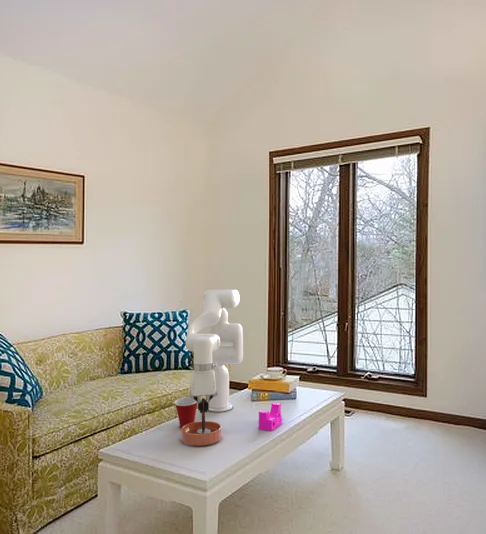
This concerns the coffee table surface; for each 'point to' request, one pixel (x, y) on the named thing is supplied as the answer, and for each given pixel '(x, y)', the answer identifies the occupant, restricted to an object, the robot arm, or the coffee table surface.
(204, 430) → the meat pounder
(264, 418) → the toy block
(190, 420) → the plastic cup
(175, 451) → the coffee table surface
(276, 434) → the coffee table surface
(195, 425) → the bowl
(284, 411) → the coffee table surface
